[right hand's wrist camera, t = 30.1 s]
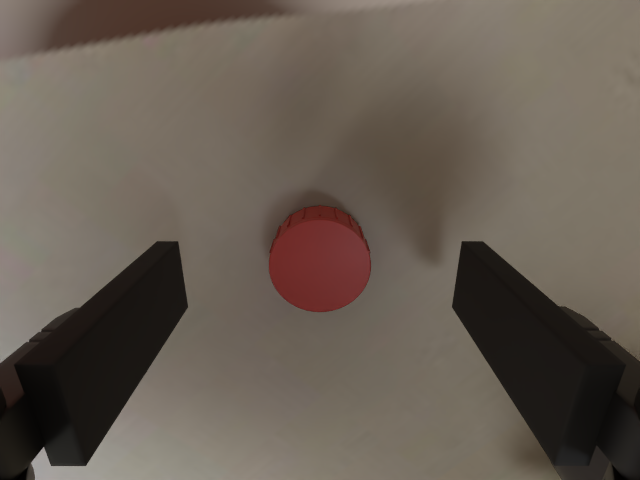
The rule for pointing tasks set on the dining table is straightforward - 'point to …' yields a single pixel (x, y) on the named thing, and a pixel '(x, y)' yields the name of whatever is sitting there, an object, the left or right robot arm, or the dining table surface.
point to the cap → (319, 259)
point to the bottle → (585, 468)
